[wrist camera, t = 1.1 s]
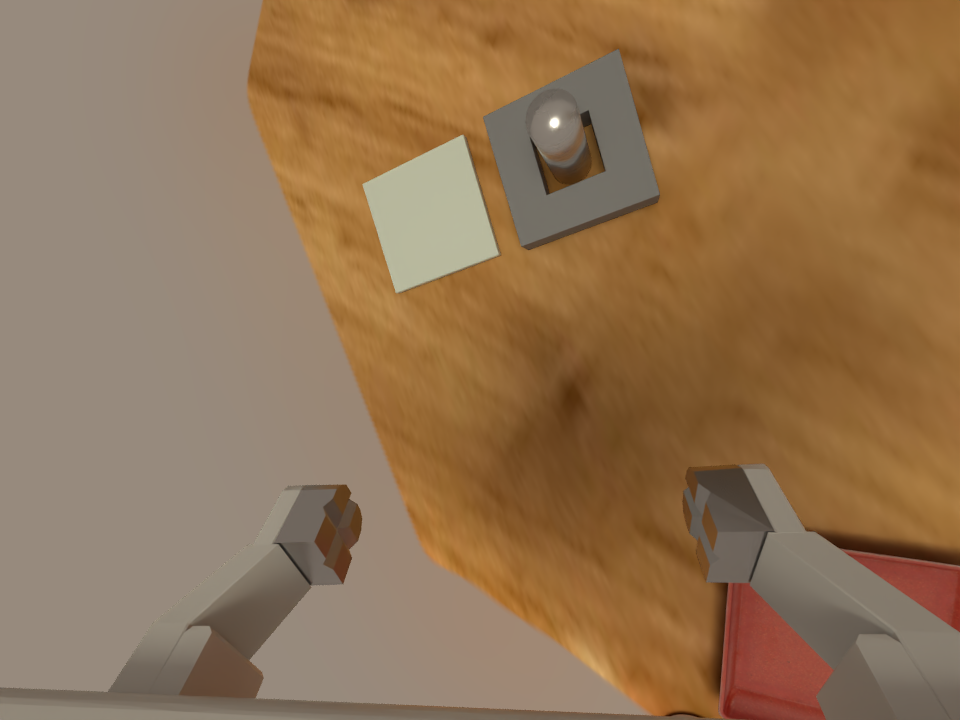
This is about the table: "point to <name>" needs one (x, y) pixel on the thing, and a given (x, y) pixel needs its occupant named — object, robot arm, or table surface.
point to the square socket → (591, 199)
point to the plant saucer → (789, 659)
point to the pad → (432, 216)
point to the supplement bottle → (683, 716)
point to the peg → (559, 135)
